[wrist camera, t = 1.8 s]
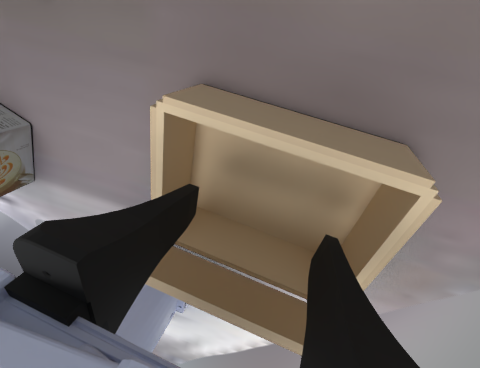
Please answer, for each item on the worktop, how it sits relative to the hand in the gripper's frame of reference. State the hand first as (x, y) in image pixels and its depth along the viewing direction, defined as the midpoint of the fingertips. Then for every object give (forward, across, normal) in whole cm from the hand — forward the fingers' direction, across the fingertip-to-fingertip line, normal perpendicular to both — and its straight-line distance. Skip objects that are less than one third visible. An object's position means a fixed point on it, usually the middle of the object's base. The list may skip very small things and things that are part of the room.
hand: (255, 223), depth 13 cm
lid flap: (-1, 0, +5) cm, 5 cm away
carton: (+7, 0, +1) cm, 7 cm away
